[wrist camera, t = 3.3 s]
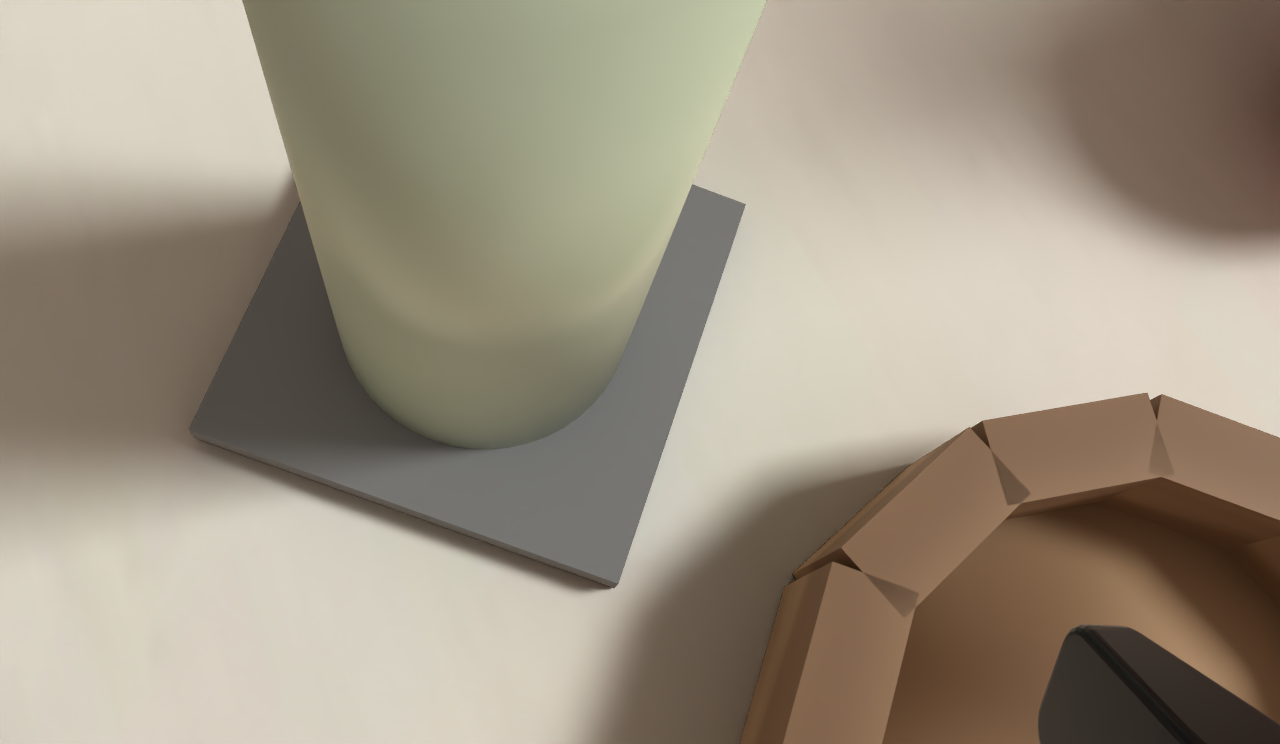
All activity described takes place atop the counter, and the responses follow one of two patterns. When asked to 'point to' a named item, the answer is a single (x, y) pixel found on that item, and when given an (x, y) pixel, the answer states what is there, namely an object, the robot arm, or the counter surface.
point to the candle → (494, 187)
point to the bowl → (1031, 575)
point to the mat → (461, 477)
